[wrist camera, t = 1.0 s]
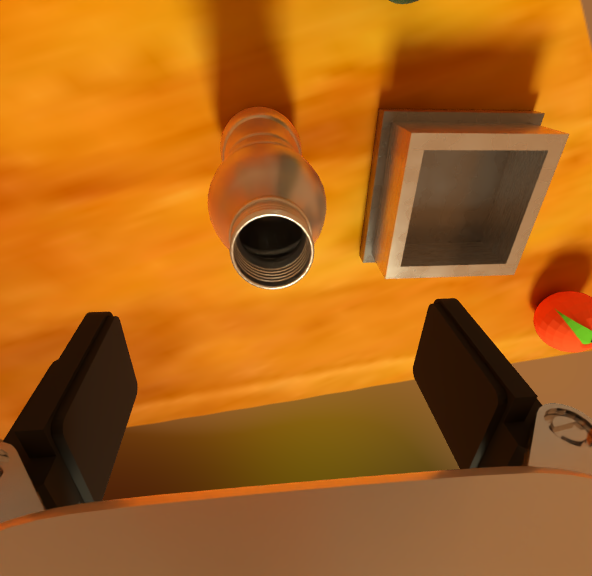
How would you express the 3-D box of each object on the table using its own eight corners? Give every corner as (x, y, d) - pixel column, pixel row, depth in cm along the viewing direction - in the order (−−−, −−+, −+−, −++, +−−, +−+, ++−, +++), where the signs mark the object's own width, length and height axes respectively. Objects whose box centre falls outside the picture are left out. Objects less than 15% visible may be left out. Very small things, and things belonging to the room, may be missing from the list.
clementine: (504, 306, 46) (542, 346, 40) (554, 265, 43) (603, 300, 37) (540, 334, 49) (580, 374, 43) (588, 296, 46) (638, 334, 40)
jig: (378, 108, 32) (402, 120, 27) (533, 110, 33) (583, 122, 28) (359, 255, 40) (375, 286, 35) (486, 252, 41) (519, 281, 36)
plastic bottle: (281, 88, 30) (319, 145, 14) (308, 167, 34) (365, 288, 17) (208, 120, 31) (160, 210, 14) (242, 194, 35) (236, 334, 18)
